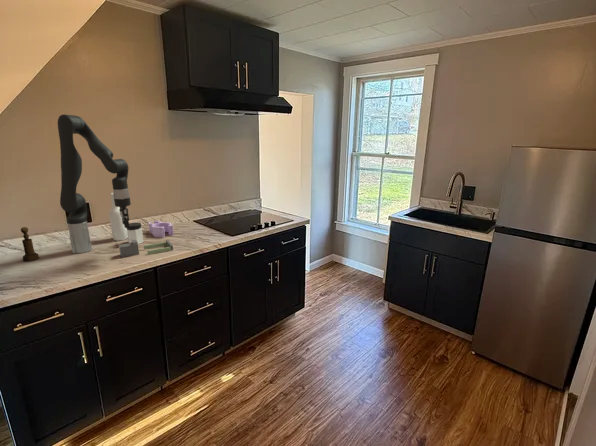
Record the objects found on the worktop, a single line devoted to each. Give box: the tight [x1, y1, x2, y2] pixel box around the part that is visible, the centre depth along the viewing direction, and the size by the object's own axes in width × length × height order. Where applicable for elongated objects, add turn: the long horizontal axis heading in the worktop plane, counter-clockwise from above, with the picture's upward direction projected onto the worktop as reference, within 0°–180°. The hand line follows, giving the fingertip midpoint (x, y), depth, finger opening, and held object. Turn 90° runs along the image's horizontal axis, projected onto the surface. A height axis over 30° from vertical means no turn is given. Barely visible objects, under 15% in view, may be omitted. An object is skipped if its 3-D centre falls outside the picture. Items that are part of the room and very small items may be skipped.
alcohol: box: [108, 192, 128, 242], centre depth 200 cm, size 9×9×30 cm
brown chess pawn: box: [20, 226, 40, 262], centre depth 167 cm, size 7×6×18 cm
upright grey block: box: [118, 240, 140, 259], centre depth 177 cm, size 9×5×8 cm, turn 124°
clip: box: [147, 220, 175, 239], centre depth 215 cm, size 20×12×7 cm, turn 53°
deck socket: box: [143, 239, 174, 255], centre depth 186 cm, size 14×11×3 cm
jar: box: [127, 222, 144, 245], centre depth 196 cm, size 9×8×12 cm
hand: (126, 225), depth 174 cm, fingers open, 8 cm apart
